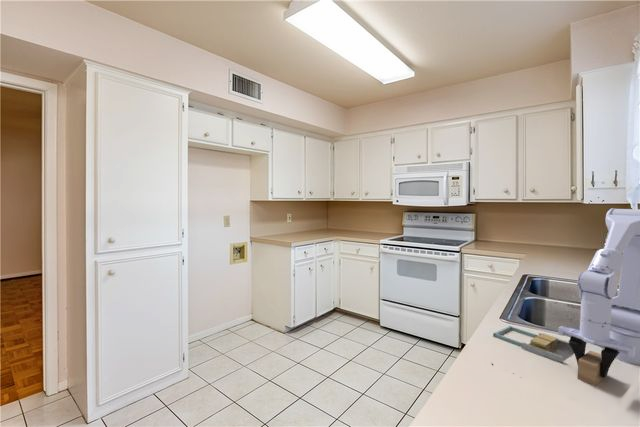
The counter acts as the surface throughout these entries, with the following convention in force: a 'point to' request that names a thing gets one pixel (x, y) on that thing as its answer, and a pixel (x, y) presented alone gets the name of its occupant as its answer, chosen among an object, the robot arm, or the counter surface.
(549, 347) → the brass chip
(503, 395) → the counter surface
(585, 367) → the tan rectangular block
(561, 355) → the slot plate
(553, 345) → the brass chip
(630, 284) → the robot arm
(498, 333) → the tray
